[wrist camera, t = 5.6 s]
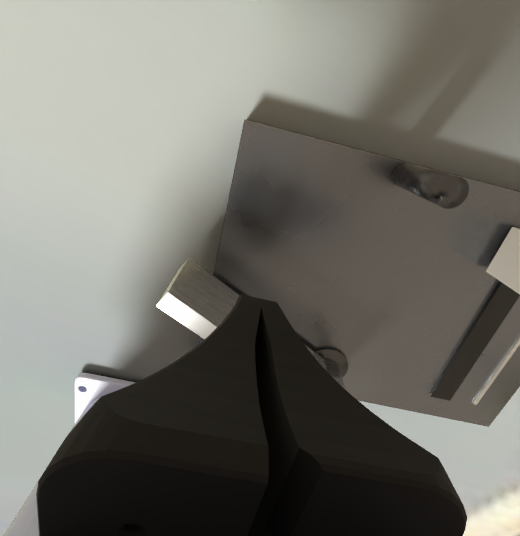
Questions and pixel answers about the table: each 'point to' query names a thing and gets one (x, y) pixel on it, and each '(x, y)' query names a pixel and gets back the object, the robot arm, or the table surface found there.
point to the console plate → (378, 269)
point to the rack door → (210, 306)
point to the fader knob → (508, 261)
